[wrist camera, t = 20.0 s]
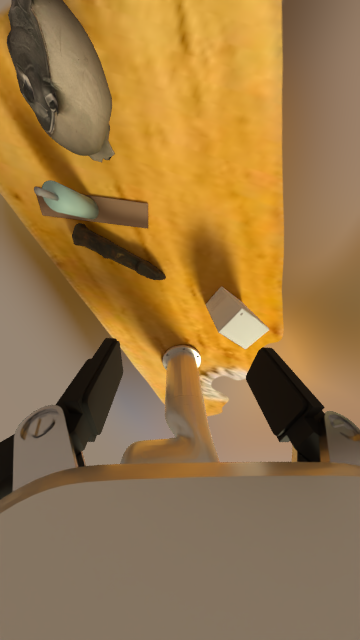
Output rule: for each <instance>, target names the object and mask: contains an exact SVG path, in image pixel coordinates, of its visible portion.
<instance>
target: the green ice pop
mask: <svg viewBox="0 0 360 640" xmlns="http://www.w3.org/2000/svg"><path fill="white" fill-rule="evenodd" d="M34 191H35V193H36V194H37V195H39V196H42V197H43V198H44V201H45V202H46V204H47V205H48V206H49V207H50V208H51V209H52V210H54V211H56V212H59V213H64V214H68V215H73V216H78V217H82V218H87V219H95V218H97V216H98V213H99V210H98V206H97V204H96V203H95V201H94V200H92V199H91V198H89V197H87V196H85V195H83V194H80V193H78V192H76V191H74V190H72V189H70V188H68V187H66V186H63V185H61V184H59V183H57V182H55V181H46V182H45V183H44V184H43V186H42V188H39V187H34Z"/></svg>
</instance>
